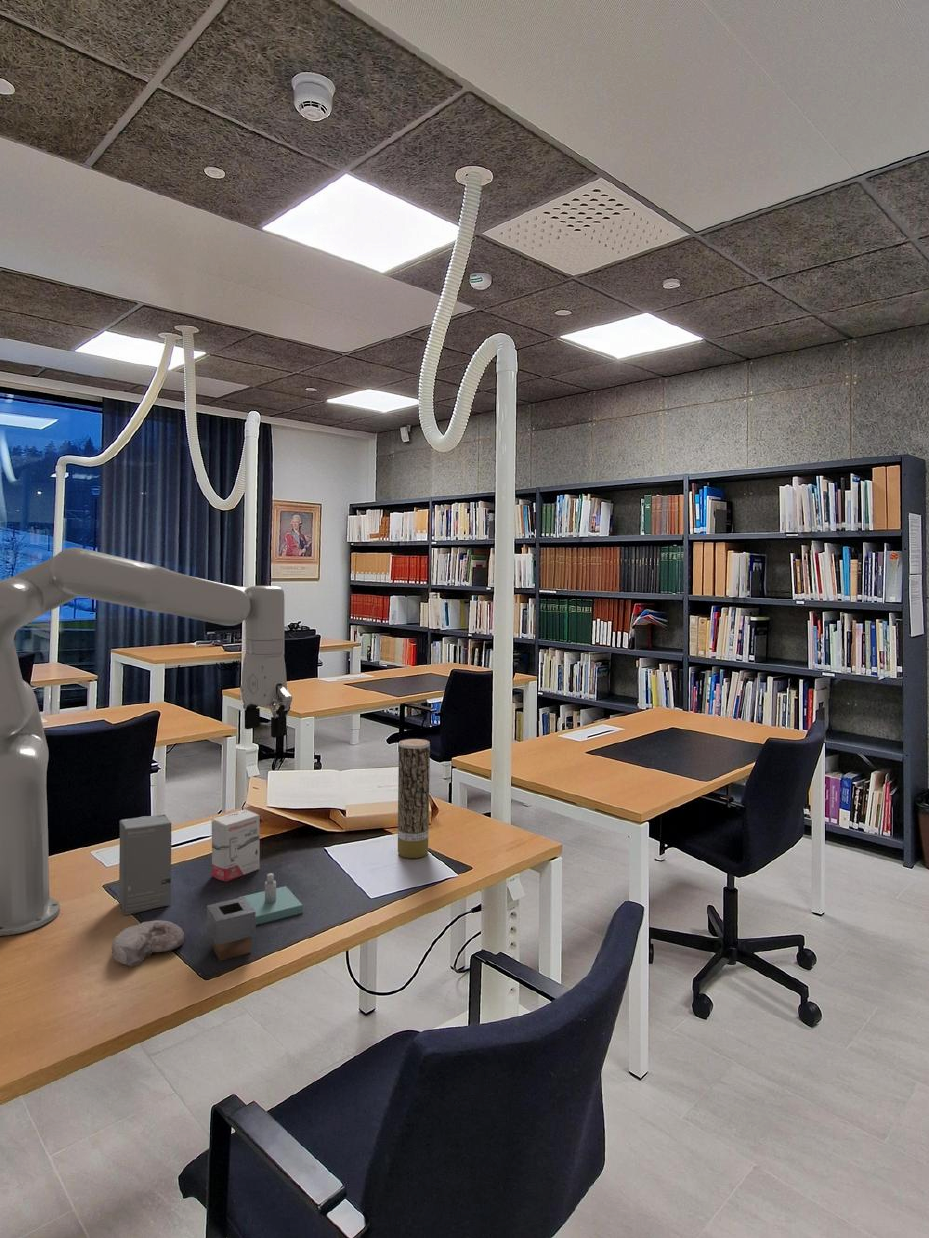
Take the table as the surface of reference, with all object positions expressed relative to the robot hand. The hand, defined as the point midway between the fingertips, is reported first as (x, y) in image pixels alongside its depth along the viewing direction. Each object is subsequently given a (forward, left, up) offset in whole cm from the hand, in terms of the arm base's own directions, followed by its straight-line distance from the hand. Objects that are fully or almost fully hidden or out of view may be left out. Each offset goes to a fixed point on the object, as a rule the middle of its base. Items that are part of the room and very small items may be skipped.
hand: (265, 732), depth 145 cm
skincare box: (-23, -1, -30) cm, 38 cm away
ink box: (-5, +4, -30) cm, 31 cm away
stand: (-14, -25, -30) cm, 41 cm away
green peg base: (-4, -15, -30) cm, 33 cm away
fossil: (-26, -18, -30) cm, 44 cm away
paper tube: (+31, -6, -30) cm, 44 cm away
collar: (-14, -25, -27) cm, 39 cm away
